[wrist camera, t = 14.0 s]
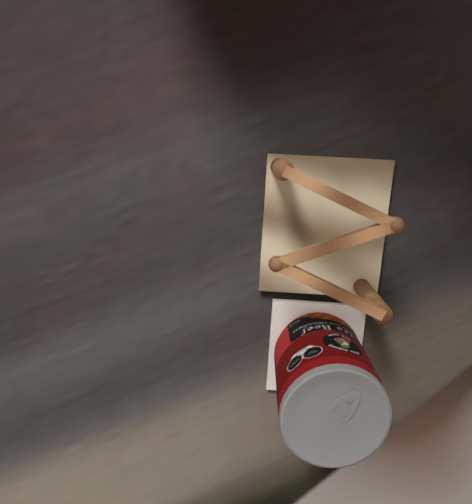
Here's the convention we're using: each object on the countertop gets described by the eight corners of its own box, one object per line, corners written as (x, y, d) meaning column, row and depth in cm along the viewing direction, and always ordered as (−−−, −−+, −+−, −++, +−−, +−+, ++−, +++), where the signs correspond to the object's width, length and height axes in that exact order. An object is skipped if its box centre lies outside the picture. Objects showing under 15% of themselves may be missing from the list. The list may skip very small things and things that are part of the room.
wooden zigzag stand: (267, 153, 37) (270, 154, 29) (391, 160, 37) (429, 163, 29) (258, 287, 40) (259, 322, 32) (373, 294, 40) (404, 331, 32)
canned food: (369, 322, 40) (410, 386, 29) (339, 397, 42) (367, 483, 31) (289, 298, 40) (301, 353, 29) (262, 374, 42) (264, 452, 31)
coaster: (272, 298, 40) (272, 300, 40) (365, 304, 40) (366, 306, 40) (266, 386, 43) (266, 389, 42) (354, 392, 42) (355, 395, 42)
